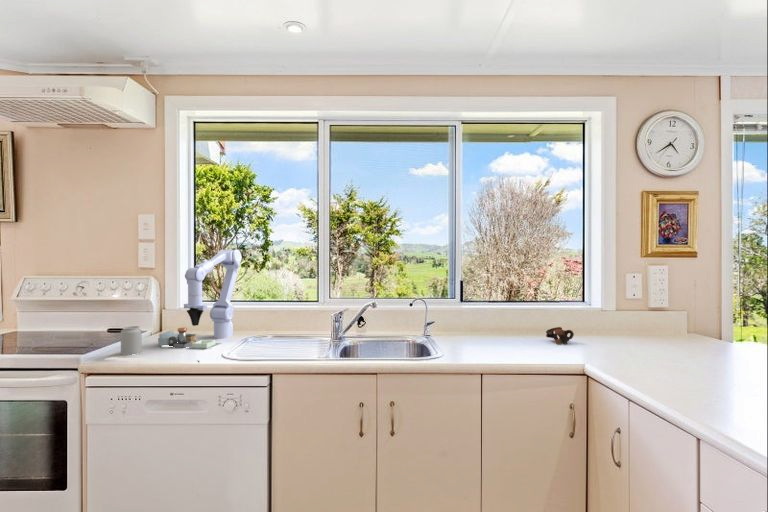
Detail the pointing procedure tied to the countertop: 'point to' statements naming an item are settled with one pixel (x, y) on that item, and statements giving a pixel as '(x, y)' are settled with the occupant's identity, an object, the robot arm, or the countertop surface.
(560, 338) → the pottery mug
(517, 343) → the countertop surface
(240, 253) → the robot arm
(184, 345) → the ramp board
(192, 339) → the wooden cube
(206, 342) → the tray
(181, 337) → the pin
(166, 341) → the trolley
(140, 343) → the can
